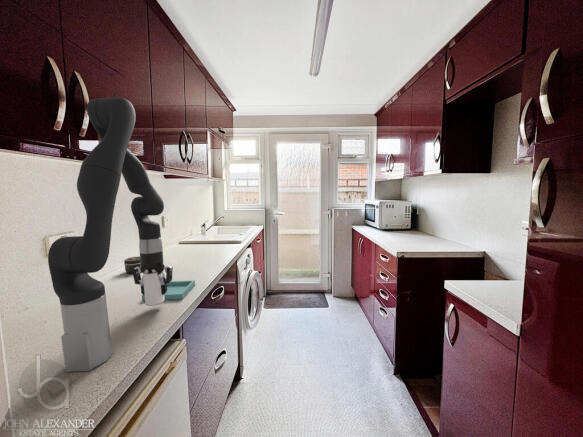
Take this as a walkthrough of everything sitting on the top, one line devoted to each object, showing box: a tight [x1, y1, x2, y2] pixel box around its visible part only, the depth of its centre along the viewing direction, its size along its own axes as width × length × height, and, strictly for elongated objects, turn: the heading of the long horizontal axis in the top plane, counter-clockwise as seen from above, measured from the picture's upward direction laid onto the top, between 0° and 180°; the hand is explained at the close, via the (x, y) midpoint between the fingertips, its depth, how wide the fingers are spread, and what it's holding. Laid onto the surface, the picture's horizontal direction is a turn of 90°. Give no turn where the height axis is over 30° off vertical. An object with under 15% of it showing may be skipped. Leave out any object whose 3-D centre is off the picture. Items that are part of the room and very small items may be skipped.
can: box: [142, 272, 166, 307], centre depth 98 cm, size 6×6×12 cm
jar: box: [123, 255, 142, 275], centre depth 146 cm, size 10×10×8 cm
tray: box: [141, 279, 196, 302], centre depth 114 cm, size 16×16×2 cm
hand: (154, 294), depth 99 cm, fingers closed on can, 6 cm apart
